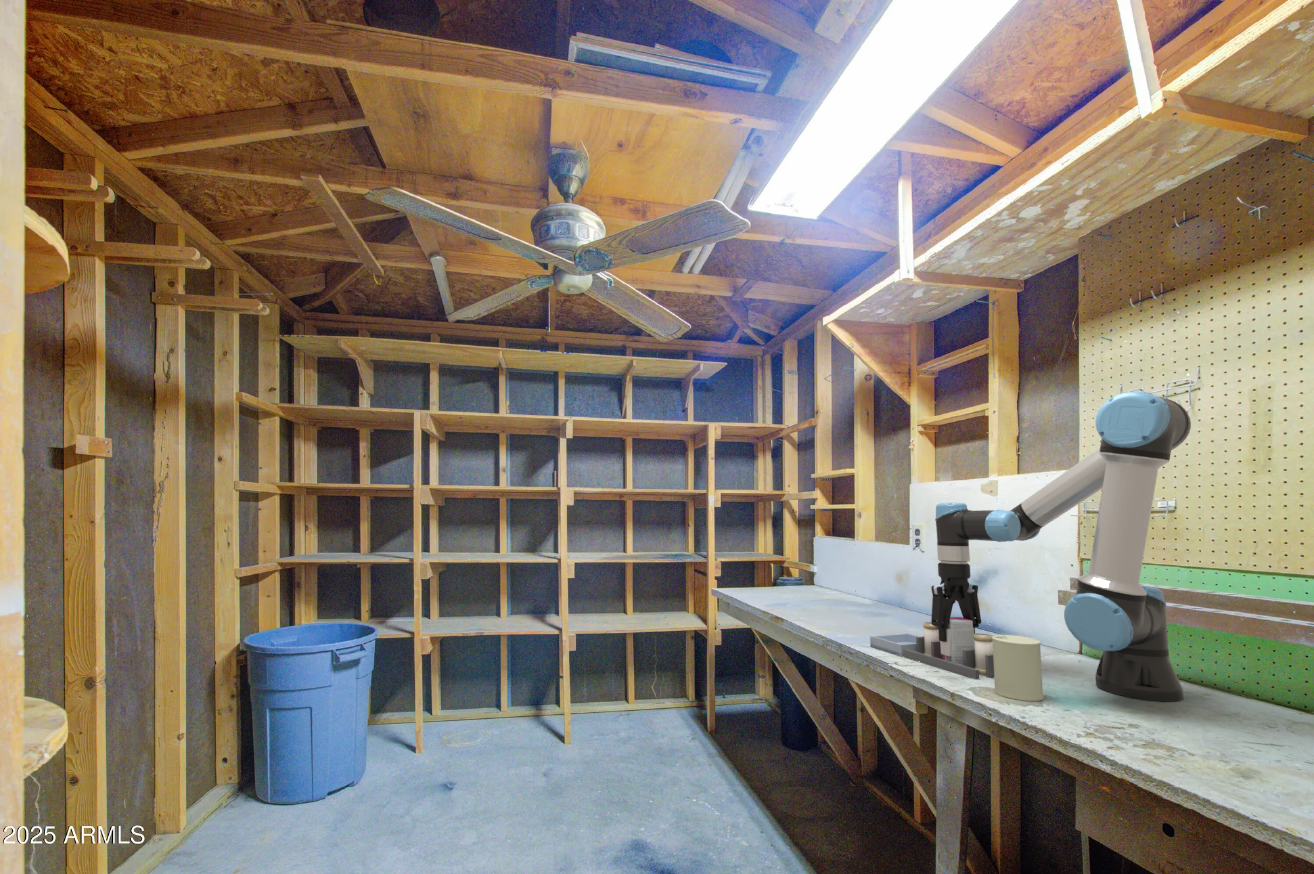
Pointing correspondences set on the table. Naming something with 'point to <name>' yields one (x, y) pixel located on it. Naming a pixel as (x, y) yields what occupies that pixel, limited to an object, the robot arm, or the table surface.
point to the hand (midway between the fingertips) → (958, 653)
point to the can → (1017, 667)
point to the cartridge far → (929, 636)
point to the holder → (938, 661)
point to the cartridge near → (982, 651)
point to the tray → (894, 643)
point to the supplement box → (960, 638)
